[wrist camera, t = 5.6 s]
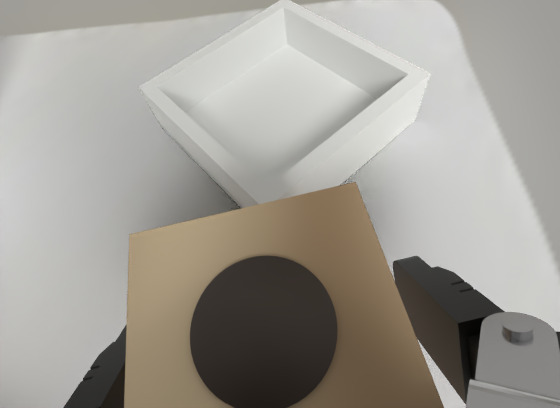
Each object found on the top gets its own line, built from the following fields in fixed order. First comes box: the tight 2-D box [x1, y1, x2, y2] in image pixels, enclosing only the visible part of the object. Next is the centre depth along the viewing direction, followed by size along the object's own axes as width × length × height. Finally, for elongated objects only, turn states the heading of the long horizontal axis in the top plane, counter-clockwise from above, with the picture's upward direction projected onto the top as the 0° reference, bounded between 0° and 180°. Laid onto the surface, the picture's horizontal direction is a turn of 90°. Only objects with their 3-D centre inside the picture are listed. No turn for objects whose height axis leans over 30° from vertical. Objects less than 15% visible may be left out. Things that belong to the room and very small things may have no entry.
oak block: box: [124, 182, 444, 408], centre depth 10 cm, size 5×5×10 cm
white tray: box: [138, 0, 431, 208], centre depth 20 cm, size 12×12×4 cm
